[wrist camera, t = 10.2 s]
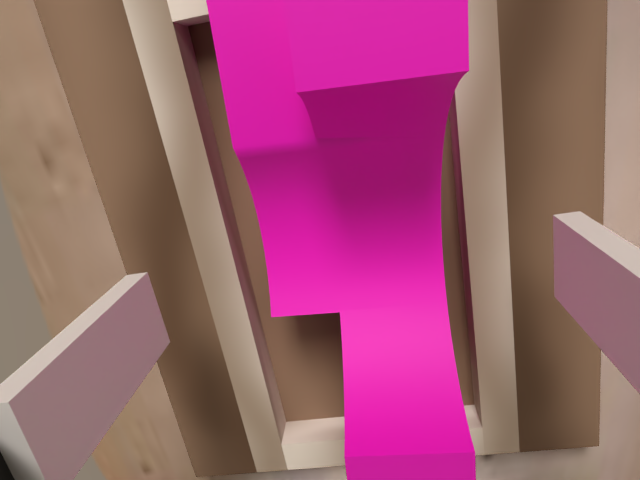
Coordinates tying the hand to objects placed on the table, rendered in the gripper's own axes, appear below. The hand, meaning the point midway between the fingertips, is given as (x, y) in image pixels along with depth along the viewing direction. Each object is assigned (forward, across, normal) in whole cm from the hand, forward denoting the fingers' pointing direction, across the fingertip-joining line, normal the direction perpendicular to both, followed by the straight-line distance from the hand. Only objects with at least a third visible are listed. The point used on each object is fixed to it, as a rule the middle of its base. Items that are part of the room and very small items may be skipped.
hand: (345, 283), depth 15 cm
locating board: (+6, 0, 0) cm, 6 cm away
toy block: (+5, 0, +1) cm, 5 cm away
